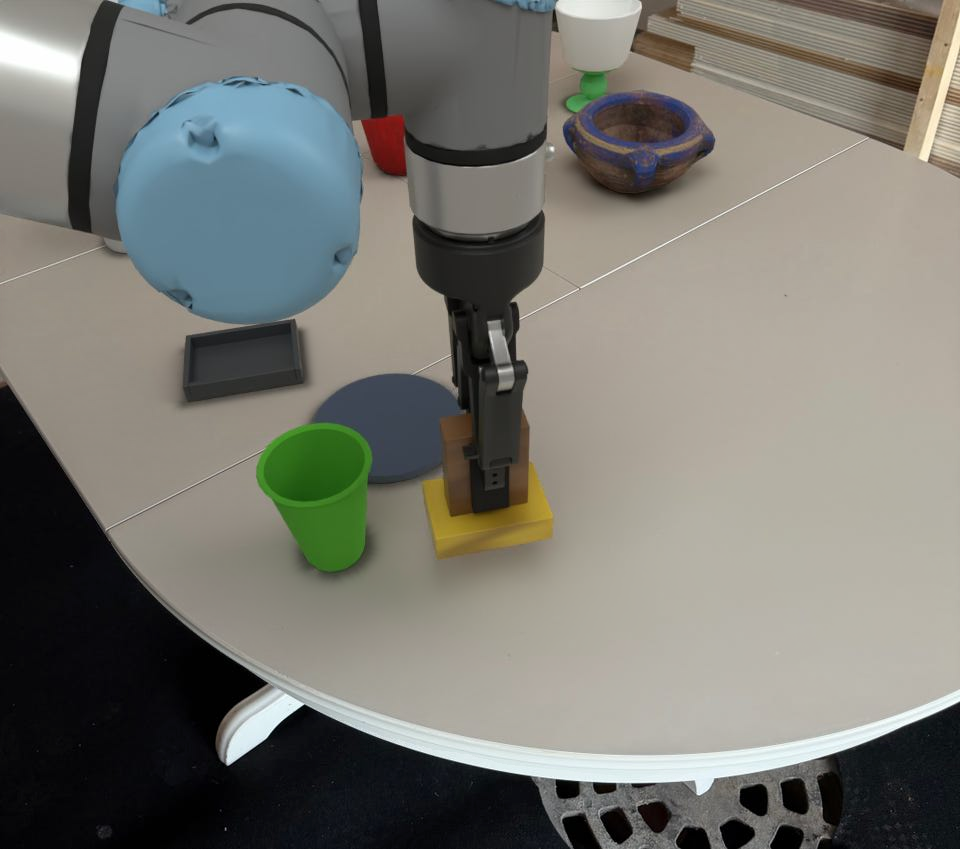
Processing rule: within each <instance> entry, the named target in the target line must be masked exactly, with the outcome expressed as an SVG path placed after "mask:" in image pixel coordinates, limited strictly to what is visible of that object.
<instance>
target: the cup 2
mask: <svg viewBox="0 0 960 849" xmlns="http://www.w3.org/2000/svg"><path fill="white" fill-rule="evenodd" d="M642 10H643V6H642V1H640V0H556V2H555V9H554V11H555V16H556V21H557V22H556V23H557V29H558V35H559V41H560V48H561V54H562V58H563V60H564V61H565V63H566V65H568V66H569V67H570V68H571V69H573V70H575V71H577V72H579V73H582V76H581V78H580V82H579V88H580V92H581V93H578V94H575V95H572V96H570V97H569V98H568V99H567V100H566V101H565V107H566V108H567V109H568V110H569V111H570V112H573V113H574V114H576V113H577V112H578V111H579V110H580V109H581V108H582V107H583V106H584V105H586V104H587V103H589V102H591V101H593V100H595V99H597V98H599V97H602V96H605V95H608V94H607V93H605V92H606V91H607V88H608V79H607V76H606V75H605V74H608V73H611V72H613V71H615V70H617V69H619V68H620V67H622V66H623V65H624V64H625V62H626V61H627V60H628V58H629V56H630V52H631V48H632V45H633V41H634V39H635V38H634V37H635V34H636V31H637V27H638V23H639V20H640V18H641V17H640V16H641V13H642Z"/></svg>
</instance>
